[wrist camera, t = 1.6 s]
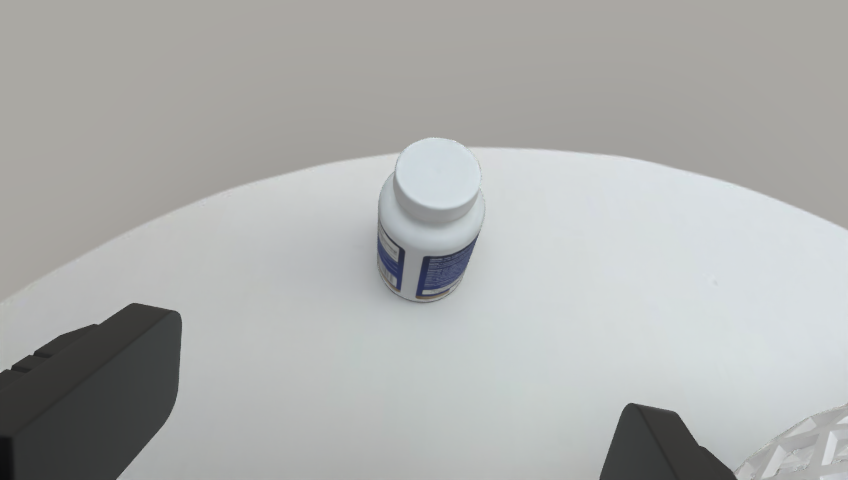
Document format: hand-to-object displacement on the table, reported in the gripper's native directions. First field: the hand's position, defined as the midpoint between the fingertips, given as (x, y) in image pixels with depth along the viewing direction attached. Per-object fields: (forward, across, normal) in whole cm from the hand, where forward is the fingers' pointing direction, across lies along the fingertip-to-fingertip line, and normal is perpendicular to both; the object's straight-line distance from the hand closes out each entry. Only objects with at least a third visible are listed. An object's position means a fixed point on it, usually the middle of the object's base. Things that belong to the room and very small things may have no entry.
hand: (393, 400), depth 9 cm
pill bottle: (+23, 0, +5) cm, 23 cm away
